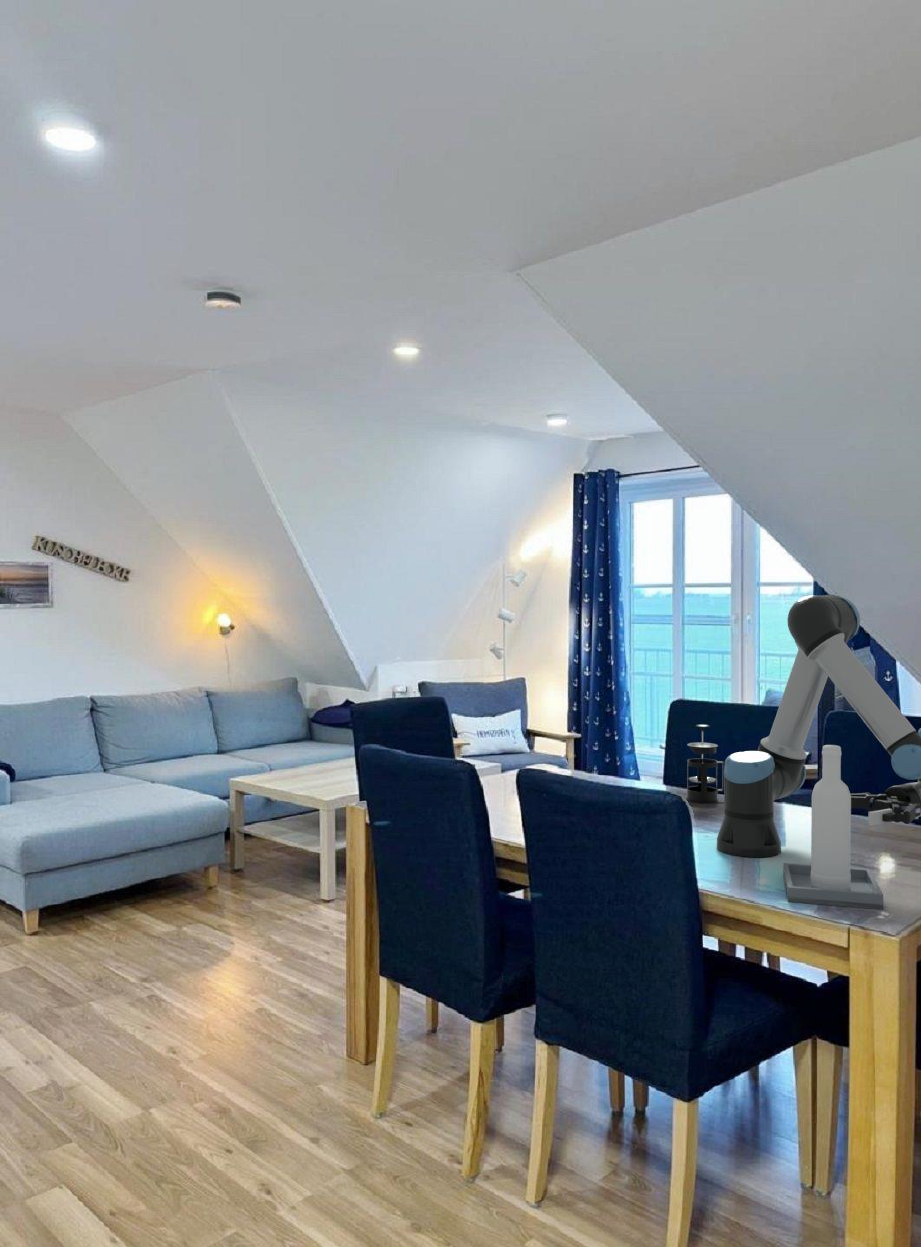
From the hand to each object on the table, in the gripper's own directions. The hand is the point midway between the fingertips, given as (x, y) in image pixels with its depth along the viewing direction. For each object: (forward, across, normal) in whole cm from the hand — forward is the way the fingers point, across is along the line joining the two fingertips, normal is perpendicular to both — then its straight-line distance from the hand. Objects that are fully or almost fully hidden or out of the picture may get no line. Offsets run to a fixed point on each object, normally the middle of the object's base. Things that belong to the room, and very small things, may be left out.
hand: (842, 812), depth 201 cm
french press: (-36, +80, -17) cm, 89 cm away
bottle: (+3, 0, -16) cm, 16 cm away
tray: (+3, 0, -17) cm, 17 cm away
